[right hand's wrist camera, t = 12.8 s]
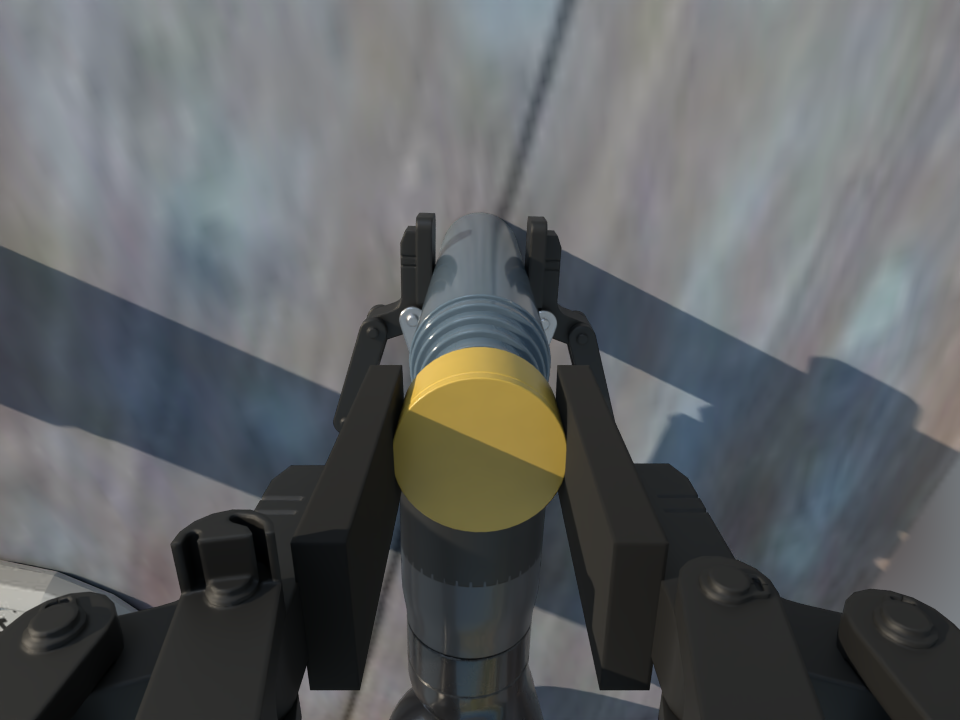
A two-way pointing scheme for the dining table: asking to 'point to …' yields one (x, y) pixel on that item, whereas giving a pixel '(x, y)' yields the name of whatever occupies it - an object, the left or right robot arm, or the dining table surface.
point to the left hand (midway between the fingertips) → (481, 219)
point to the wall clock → (40, 590)
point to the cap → (479, 441)
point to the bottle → (479, 298)
